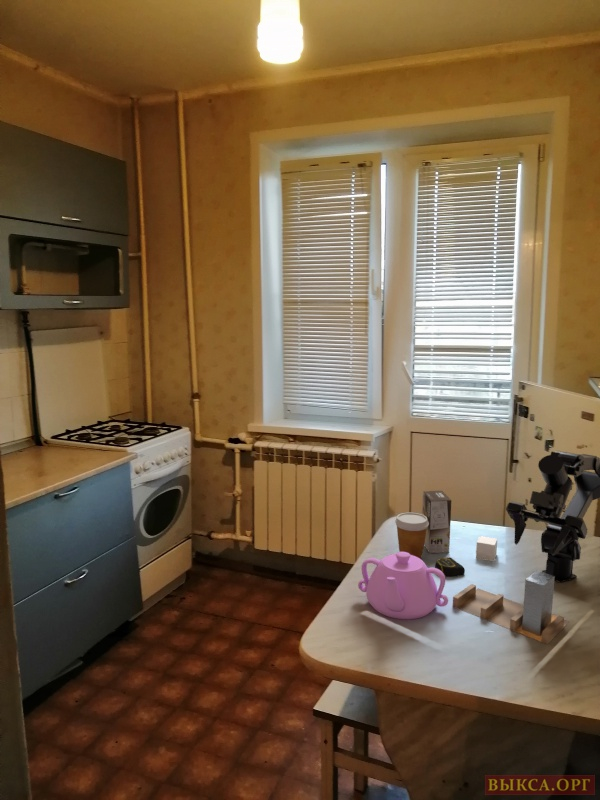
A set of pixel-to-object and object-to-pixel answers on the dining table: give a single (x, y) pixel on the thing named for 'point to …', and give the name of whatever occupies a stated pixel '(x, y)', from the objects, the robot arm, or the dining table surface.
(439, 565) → the tape measure
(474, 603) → the rail rack
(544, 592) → the tall grey box
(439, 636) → the dining table surface
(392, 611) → the teapot
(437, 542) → the coffee box
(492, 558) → the cream white cube
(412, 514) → the disposable coffee cup
